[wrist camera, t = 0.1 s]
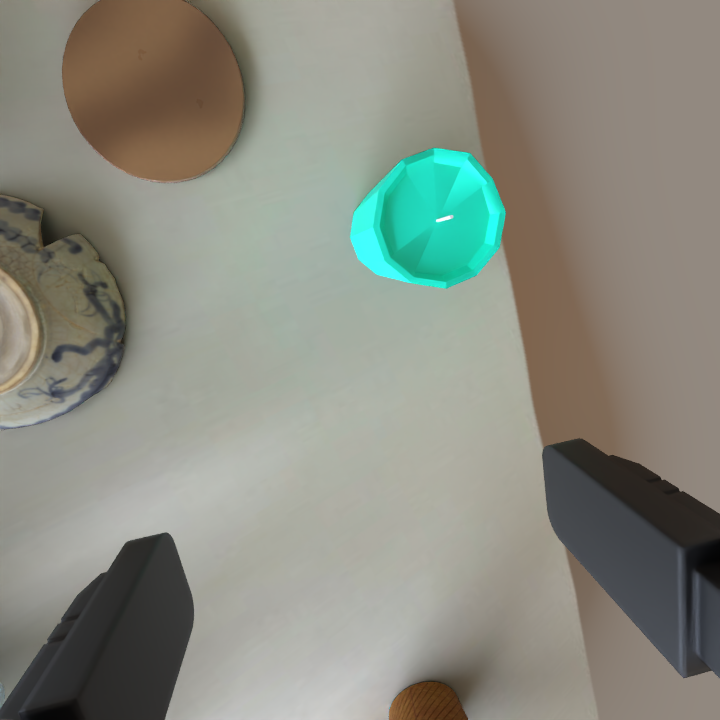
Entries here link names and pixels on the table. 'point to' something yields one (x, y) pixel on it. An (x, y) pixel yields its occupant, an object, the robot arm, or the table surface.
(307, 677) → the table surface
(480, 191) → the candle
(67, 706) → the robot arm
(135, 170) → the cork coaster
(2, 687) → the mug
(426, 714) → the disposable coffee cup
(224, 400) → the table surface
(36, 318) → the decorative bowl
